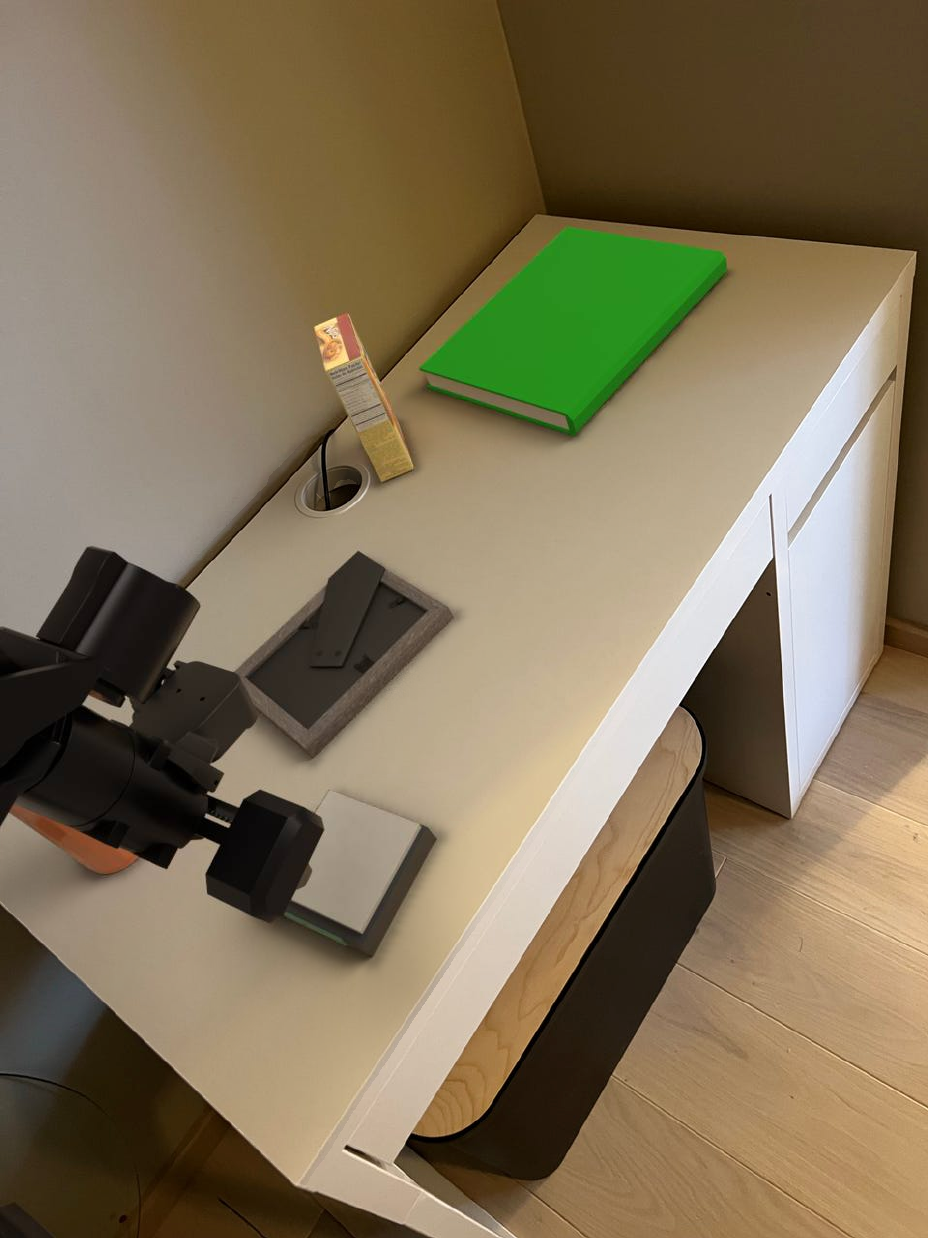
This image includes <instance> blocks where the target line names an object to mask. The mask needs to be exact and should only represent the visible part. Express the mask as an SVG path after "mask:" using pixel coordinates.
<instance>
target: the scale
mask: <svg viewBox="0 0 928 1238" xmlns="http://www.w3.org/2000/svg"><path fill="white" fill-rule="evenodd" d="M314 813H315V814H317V815H318V816H320V817H321V818H322V822H323V825H324V829H325V830H324V832H323V834H322V836H321V838H320V840H319V842H318V845H317V847H316V849H315V851H314V853H313V855H312V857H311V859H310V861H309V865H310V867H311V868H312V874H311V876H310V878H309V880H308V882H307V884H306V885H305V886H304V887H302V888H300V889H298V890H296V891H295V893H294V895H293V897H292V899H291V901H290V903H289V905H288V907H287V910H286V912H285V914H284V916H285V917H286V918H287V919H290V920H292V921H294V922H296V923H298V924H300V925H302V926H304V927H306V928H308V929H310V930H312V931H315V932H317V933H318V934H320V935H323V936H325V937H327V938H329V939H331V940H333V941H335V942H337V943H339V944H342V945H343V946H345V947H348V946H349V947H351V948H353V949H355V950H357V951H359V952H362V953H364V954H365V955H368V956H370V957H372V958H373V957H374V956H375V954H376V952H377V950H378V948H379V946H380V944H381V942H382V941H383V939H384V937H385V935H386V934H387V931H388V930H389V927H390V926H391V924H392V922H393V920H394V918H395V916H396V915H397V913H398V911H399V909H400V907H401V905H402V904H403V902H404V900H405V898H406V896H407V895H408V893H409V891H410V889H411V887H412V885H413V883H414V881H415V879H416V878H417V876H418V873H419V872H420V870H421V868H422V867H423V865H424V863H425V861H426V859H427V857H428V856H429V854H430V852H431V850H432V848H433V846H434V844H435V843H436V840H437V837H436V836H435V834H434V833H433V832H432V830H431V829H430V828H429V827H428V826H427V825H424V824H421V823H418V822H416V821H414V820H410V819H407V818H405V817H402V816H400V815H397V814H394V813H392V812H390V811H387V810H384V809H382V808H379V807H376V806H374V805H371V804H369V803H366V802H363V801H361V800H358V799H355V798H353V797H351V796H347V795H345V794H342V793H340V792H337V791H334V790H332V789H328V790H327V791H326V794H325V795H324V796H323V798H322V800H321V802H320V803H319V805H318V806H317V808H316V809H315V811H314Z"/></svg>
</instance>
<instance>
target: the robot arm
mask: <svg viewBox="0 0 928 1238" xmlns="http://www.w3.org/2000/svg"><path fill="white" fill-rule="evenodd" d="M201 607H202V606H201V602H200V601H199V600H198V599H197V598H196V597H195V596H194V595H193V594H192V593H191V592H189V591H188V590H187V589H186V588H184V587H183V586H182V585H180V584H177V583H174V582H170V581H167V580H165V579H163V578H162V577H160V576H158V575H156V573H155V574H154V573H153V572H150V571H149V570H147V569H145V568H143V567H141V566H138V565H136V564H134V563H132V562H130V561H128V560H126V559H125V558H123V557H122V556H121V555H120V554H118V552H116V551H114V550H113V551H112V550H109V549H105V548H101V547H97V546H94V545H89V546H86V547H85V549H84V551H83V552H82V554H81V556H80V557H79V558H78V560H77V561H76V564H75V566H74V568H73V570H72V574H71V576H70V578H69V581H68V582H67V585H66V586H65V588H64V589H63V591H62V592H61V594H60V596H59V598H58V599H57V600H56V602H55V604H54V605H53V607H52V609H51V610H50V612H49V613H48V615H47V617H46V618H45V619H44V622H43V623H42V625H41V626H40V628H39V629H38V631H37V633H36V635H35V636H32V635H29V634H27V633H24V632H20V631H18V630H15V629H12V628H10V627H6V626H0V828H1V827H2V825H3V823H4V822H5V821H6V818H7V816H8V815H9V814H10V813H9V812H10V810H11V808H12V807H13V805H14V804H15V805H18V806H20V807H22V808H25V809H27V810H30V811H32V812H35V813H37V814H39V815H42V816H44V817H47V818H49V819H51V820H54V821H56V822H59V823H61V824H63V825H66V826H68V827H71V828H73V829H75V830H77V831H80V832H82V833H84V834H86V835H88V836H90V837H92V838H94V839H96V840H98V841H100V842H102V843H104V844H106V845H108V846H111V847H113V848H116V849H118V848H121V849H124V850H126V851H129V852H131V853H132V854H134V855H136V856H138V858H141V859H143V860H144V861H146V862H149V863H151V864H153V865H155V866H157V867H159V868H162V869H165V870H168V869H169V867H170V865H171V864H172V862H173V860H174V858H175V855H176V854H177V851H178V850H182V849H184V848H185V847H186V846H187V845H188V844H189V843H190V842H191V841H203V840H204V839H205V840H208V841H209V842H212V843H214V844H217V845H219V846H218V848H217V850H216V852H215V854H214V856H213V858H212V860H211V862H210V863H209V866H208V868H207V869H206V872H205V874H204V876H205V887H206V895H208V896H210V897H212V898H214V899H216V900H218V901H220V902H222V903H224V904H226V905H228V906H230V907H232V908H234V909H236V910H238V911H240V912H242V913H245V914H246V915H248V916H251V917H252V918H255V919H257V920H260V921H262V922H265V923H267V924H273V923H275V922H276V921H279V920H280V919H282V918H283V917H284V916H285V915H284V914H285V912H286V910H287V907H288V905H289V903H290V901H291V899H292V897H293V895H294V893H295V891H296V890H298V889H300V888H302V887H304V886H305V885H306V884H307V882H308V880H309V878H310V876H311V874H312V868H311V867H310V865H309V861H310V859H311V857H312V855H313V853H314V851H315V849H316V847H317V845H318V842H319V840H320V838H321V836H322V834H323V832H324V830H325V829H324V825H323V822H322V818H321V817H320V816H318V815H317V814H315V812H313V811H312V810H310V809H309V808H307V807H305V806H303V805H300V804H299V803H295V802H293V801H290V800H288V799H285V798H283V797H280V796H277V795H275V794H272V793H270V792H268V791H265V790H263V789H258V790H257V791H254V792H252V793H251V794H250V795H248V796H246V797H244V798H243V799H242V801H241V803H240V805H239V806H236V805H234V804H231V803H229V802H227V801H224V800H222V799H220V798H217V797H215V796H212V795H210V794H208V793H211V794H214V793H216V791H217V789H218V787H219V786H220V784H221V781H222V779H223V777H224V776H225V772H224V771H222V770H220V769H218V768H217V767H215V766H213V765H211V764H213V763H216V762H218V761H219V760H220V759H222V757H224V755H226V753H227V752H228V750H230V748H231V747H233V745H234V744H235V743H236V741H237V740H239V738H240V737H241V736H242V735H243V733H245V732H246V730H248V729H249V730H250V729H251V728H252V727H253V726H254V725H255V724H256V722H257V721H258V718H259V715H260V714H259V711H258V710H257V709H256V707H255V705H254V703H253V701H252V699H251V698H250V696H249V694H248V692H247V690H246V688H245V686H244V684H243V683H242V681H241V679H240V677H239V675H238V674H236V673H234V671H231V670H228V669H226V668H222V667H218V666H216V665H213V664H210V663H206V662H203V661H200V660H192V661H189V662H184V661H182V660H179V659H177V660H175V661H174V662H173V664H172V665H173V667H174V668H175V669H171V668H169V667H168V666H169V664H170V662H171V660H172V658H173V657H174V655H175V653H176V652H177V649H178V648H179V646H180V644H181V642H182V641H183V639H184V637H185V636H186V634H187V632H188V630H189V628H190V627H191V625H192V623H193V621H194V619H195V618H196V616H197V614H198V613H199V611H200V609H201ZM89 696H90V697H91V698H94V699H96V700H97V701H100V702H103V703H105V704H108V705H110V706H113V707H115V708H119V709H120V708H122V707H123V705H124V704H125V702H126V700H127V698H128V700H129V703H130V705H131V706H130V707H131V708H132V710H133V713H132V715H131V720H132V722H131V723H130V724H129V725H127V724H125V723H123V722H120V721H118V720H115V719H113V718H111V719H109V718H107V717H105V716H104V715H102V714H100V713H98V712H97V711H95V710H93V709H91V708H89V707H88V706H86V705H84V703H85V701H86V700H87V698H88V697H89ZM126 697H127V698H126ZM206 815H208V816H211V817H213V818H215V819H217V820H220V821H221V822H225V823H226V824H229V827H228V826H225V825H223V824H221V823H218V822H216V821H214V820H212V819H210V818H207V817H206ZM0 1238H57V1237H56V1236H55V1235H54V1234H53V1233H51V1232H50V1231H49V1230H48V1229H46V1228H45V1227H44V1226H43V1225H42V1224H41V1223H40V1222H38V1221H37V1220H36V1218H34V1217H33V1216H32V1215H30V1214H29V1213H28V1212H27V1210H25V1209H24V1208H22V1207H21V1206H20V1205H19V1204H18V1203H17V1202H15V1201H13V1202H11V1203H9V1204H5V1205H3V1206H0Z"/></svg>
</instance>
